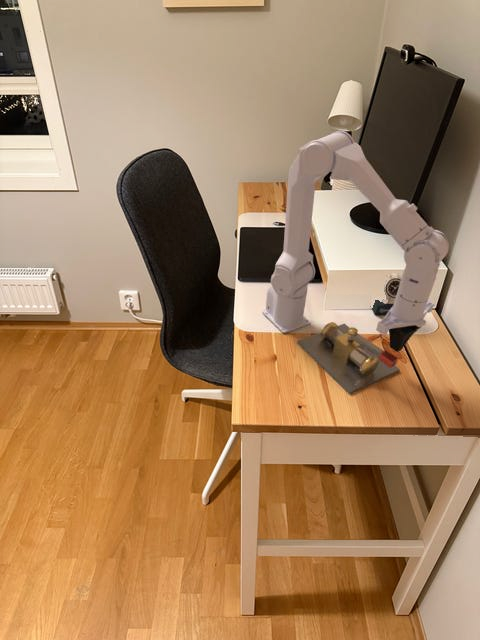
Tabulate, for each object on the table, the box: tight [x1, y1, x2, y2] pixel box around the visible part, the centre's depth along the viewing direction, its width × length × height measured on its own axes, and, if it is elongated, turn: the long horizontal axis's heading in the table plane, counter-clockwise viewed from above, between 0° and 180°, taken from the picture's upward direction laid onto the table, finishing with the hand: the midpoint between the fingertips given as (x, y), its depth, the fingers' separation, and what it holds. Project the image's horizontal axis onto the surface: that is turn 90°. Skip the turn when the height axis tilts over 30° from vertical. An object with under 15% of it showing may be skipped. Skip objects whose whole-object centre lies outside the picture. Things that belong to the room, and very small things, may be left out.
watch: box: [371, 272, 402, 317], centre depth 111 cm, size 6×8×11 cm
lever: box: [348, 327, 399, 368], centre depth 93 cm, size 12×2×2 cm, turn 38°
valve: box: [296, 321, 401, 395], centre depth 99 cm, size 18×14×5 cm
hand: (395, 348), depth 94 cm, fingers closed
